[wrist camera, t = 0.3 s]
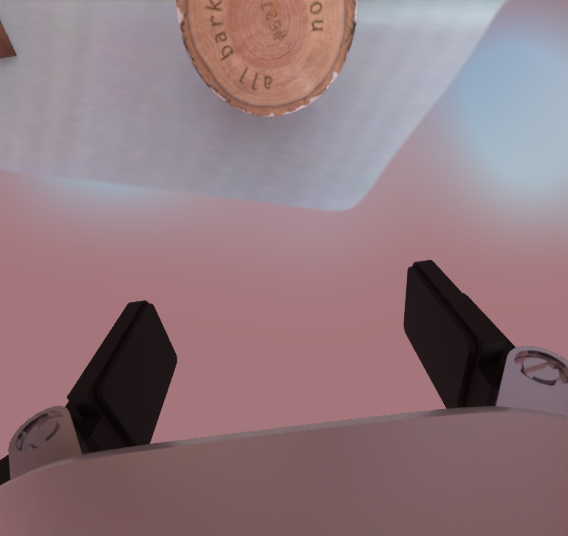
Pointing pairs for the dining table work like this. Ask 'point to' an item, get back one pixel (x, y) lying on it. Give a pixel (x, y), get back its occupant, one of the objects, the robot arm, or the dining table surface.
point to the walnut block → (5, 44)
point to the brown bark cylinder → (267, 49)
